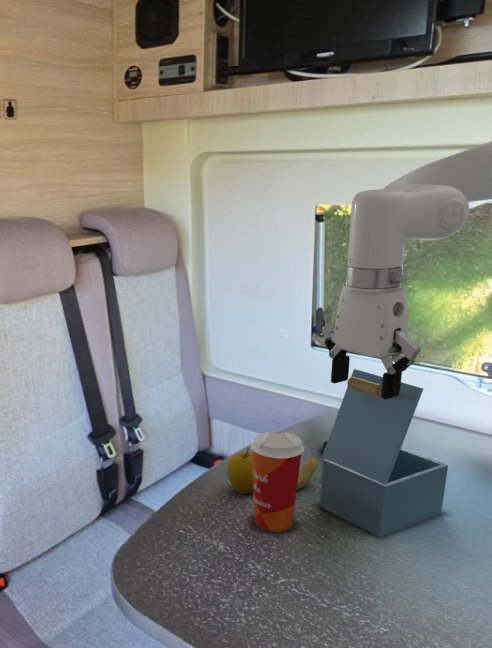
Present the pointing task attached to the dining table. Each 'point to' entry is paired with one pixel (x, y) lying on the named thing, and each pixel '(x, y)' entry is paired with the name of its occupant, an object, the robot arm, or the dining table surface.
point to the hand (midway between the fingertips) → (363, 389)
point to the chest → (385, 493)
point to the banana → (306, 472)
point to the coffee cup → (275, 479)
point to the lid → (371, 426)
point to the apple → (241, 472)
